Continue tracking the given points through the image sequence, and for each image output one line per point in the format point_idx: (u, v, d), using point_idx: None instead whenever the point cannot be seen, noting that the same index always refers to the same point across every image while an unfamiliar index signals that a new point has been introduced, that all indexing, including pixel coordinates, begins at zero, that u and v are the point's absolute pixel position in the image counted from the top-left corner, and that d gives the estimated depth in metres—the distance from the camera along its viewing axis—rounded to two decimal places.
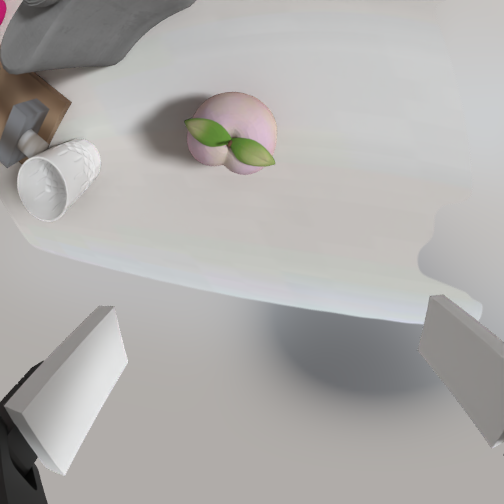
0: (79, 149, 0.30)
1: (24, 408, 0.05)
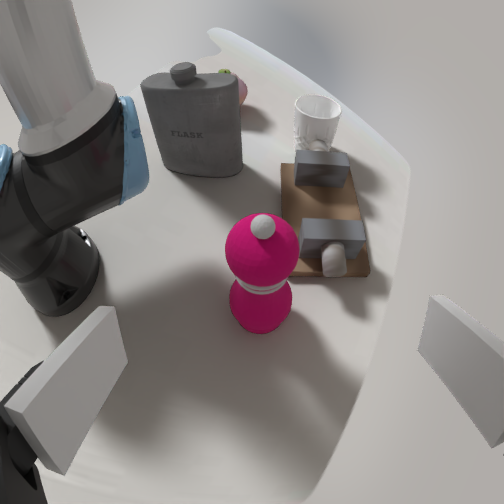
0: (294, 131, 0.50)
1: (24, 408, 0.05)
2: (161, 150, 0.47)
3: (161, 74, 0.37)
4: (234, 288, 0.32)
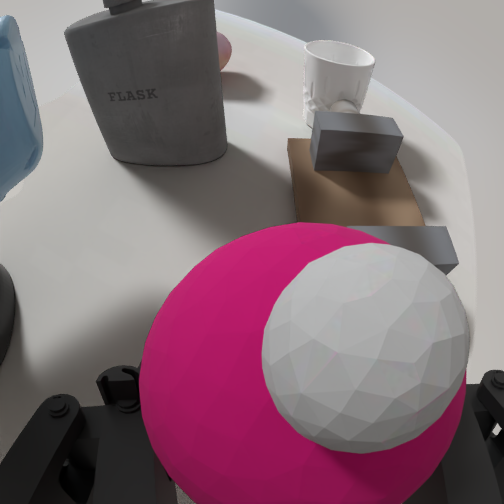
0: (304, 93, 0.31)
1: None
2: (102, 130, 0.28)
3: None
4: None
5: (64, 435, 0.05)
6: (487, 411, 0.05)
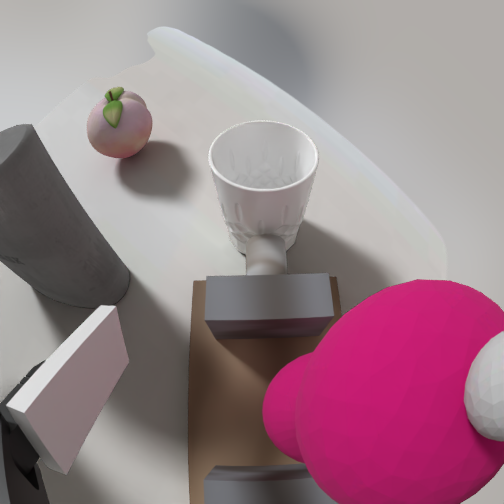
0: None
1: (26, 408, 0.05)
2: None
3: None
4: (278, 411, 0.13)
5: None
6: None
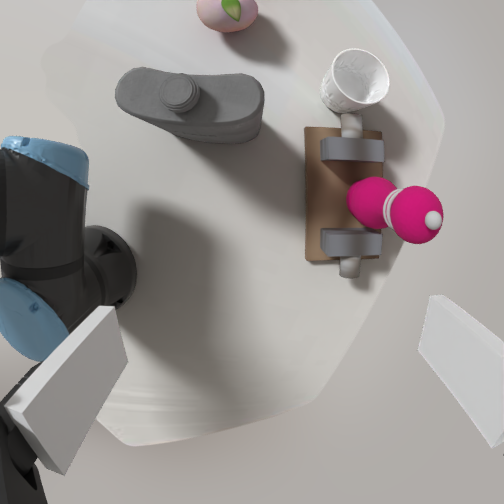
0: (323, 84, 0.36)
1: (24, 408, 0.05)
2: None
3: (139, 73, 0.24)
4: (364, 203, 0.35)
5: None
6: None
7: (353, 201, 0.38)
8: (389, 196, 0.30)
